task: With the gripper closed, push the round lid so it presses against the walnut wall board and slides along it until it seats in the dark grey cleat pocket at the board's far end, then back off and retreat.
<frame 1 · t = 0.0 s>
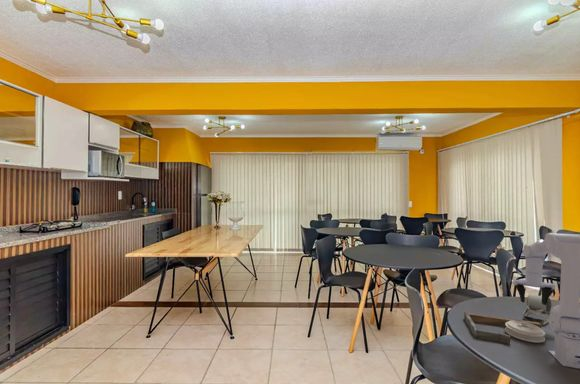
hand: (533, 302, 128), 10 cm above the table, fingers open, 7 cm apart
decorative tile: (536, 319, 135), on the table
cleat board: (508, 333, 120), on the table
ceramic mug: (538, 311, 144), on the table
lid: (524, 337, 118), on the table
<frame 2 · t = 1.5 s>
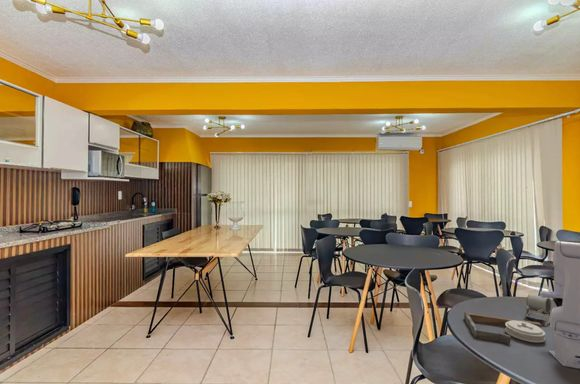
hand: (563, 318, 113), 10 cm above the table, fingers closed
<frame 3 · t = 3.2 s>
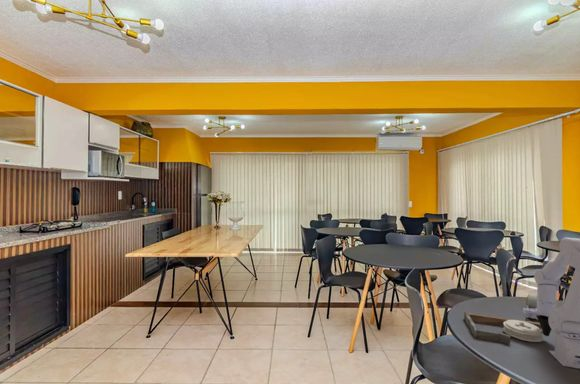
hand: (545, 334, 115), 2 cm above the table, fingers closed
lid: (522, 336, 118), on the table, touching gripper
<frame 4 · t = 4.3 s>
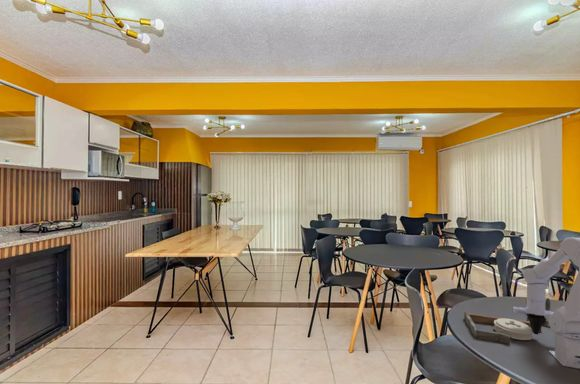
hand: (535, 333, 116), 2 cm above the table, fingers closed
lid: (512, 334, 119), on the table, touching gripper
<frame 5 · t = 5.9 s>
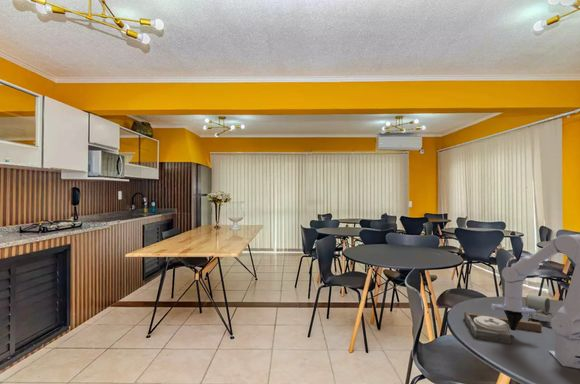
hand: (512, 329, 119), 2 cm above the table, fingers closed
lid: (491, 332, 122), on the table
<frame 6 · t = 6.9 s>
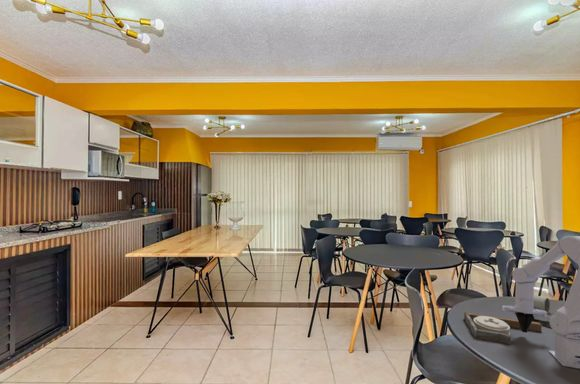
hand: (523, 331, 118), 2 cm above the table, fingers closed
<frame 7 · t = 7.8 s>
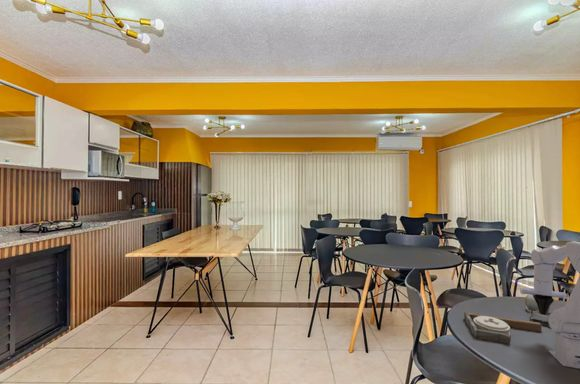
hand: (542, 313, 116), 10 cm above the table, fingers closed
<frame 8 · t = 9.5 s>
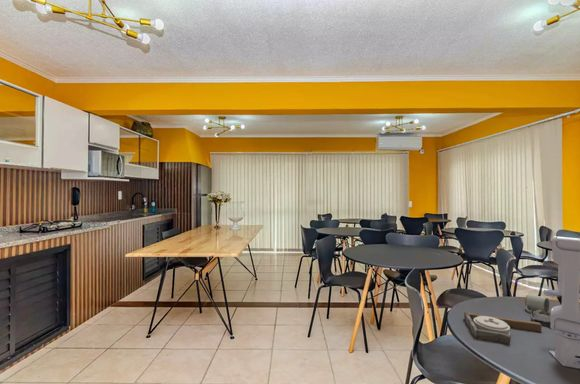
hand: (567, 315, 115), 10 cm above the table, fingers closed
at the end: lid inside the target area (0.5 cm from its centre), on the table; lid moved 11.6 cm from its start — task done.
